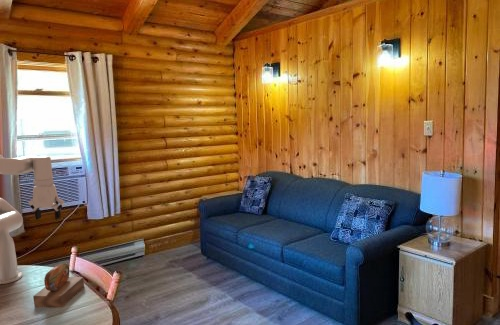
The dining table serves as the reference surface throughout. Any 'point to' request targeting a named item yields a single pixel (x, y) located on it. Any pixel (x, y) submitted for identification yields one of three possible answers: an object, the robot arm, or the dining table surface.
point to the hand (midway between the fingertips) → (48, 218)
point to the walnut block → (59, 294)
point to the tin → (56, 277)
